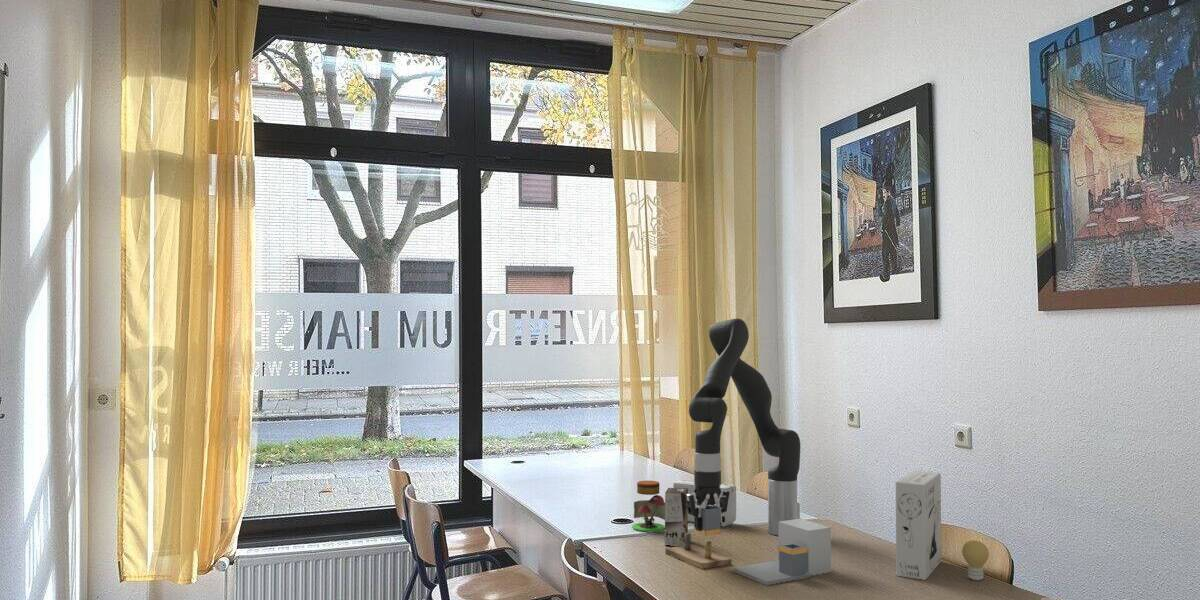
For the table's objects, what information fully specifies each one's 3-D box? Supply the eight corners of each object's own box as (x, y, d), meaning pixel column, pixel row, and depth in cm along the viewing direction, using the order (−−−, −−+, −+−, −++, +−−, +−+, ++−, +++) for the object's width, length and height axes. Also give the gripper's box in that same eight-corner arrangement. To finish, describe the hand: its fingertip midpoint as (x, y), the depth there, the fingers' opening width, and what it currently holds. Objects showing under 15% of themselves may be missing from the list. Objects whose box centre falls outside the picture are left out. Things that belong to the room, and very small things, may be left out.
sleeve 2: (793, 568, 231) (793, 542, 232) (807, 574, 227) (807, 547, 227) (778, 571, 229) (778, 545, 229) (791, 576, 224) (791, 549, 224)
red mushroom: (670, 532, 276) (670, 485, 276) (630, 532, 276) (631, 485, 277) (667, 524, 288) (668, 479, 288) (630, 523, 288) (630, 478, 288)
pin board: (693, 549, 255) (693, 529, 255) (731, 564, 239) (731, 542, 240) (665, 553, 250) (665, 532, 250) (701, 569, 235) (701, 546, 235)
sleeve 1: (709, 529, 244) (709, 504, 245) (721, 533, 240) (721, 508, 240) (694, 531, 242) (694, 506, 242) (705, 535, 237) (705, 510, 237)
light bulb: (958, 575, 229) (957, 538, 229) (981, 575, 230) (980, 537, 230) (970, 583, 223) (970, 544, 223) (993, 582, 223) (993, 543, 223)
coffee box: (685, 547, 258) (685, 493, 258) (664, 546, 259) (664, 492, 260) (688, 539, 267) (688, 487, 267) (667, 538, 268) (668, 486, 269)
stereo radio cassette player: (737, 523, 289) (737, 464, 290) (727, 528, 282) (727, 467, 283) (681, 516, 300) (681, 458, 301) (670, 520, 293) (670, 461, 294)
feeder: (797, 560, 243) (797, 517, 244) (833, 573, 231) (833, 528, 232) (733, 571, 232) (733, 526, 233) (767, 585, 220) (767, 538, 220)
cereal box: (925, 580, 225) (925, 484, 225) (895, 576, 229) (895, 481, 229) (941, 561, 243) (940, 472, 244) (913, 557, 247) (913, 470, 248)
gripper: (720, 464, 248) (720, 524, 248) (678, 468, 241) (678, 529, 241) (736, 468, 242) (736, 529, 241) (694, 472, 235) (694, 535, 234)
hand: (707, 529), depth 241 cm, fingers closed on sleeve 1, 5 cm apart
